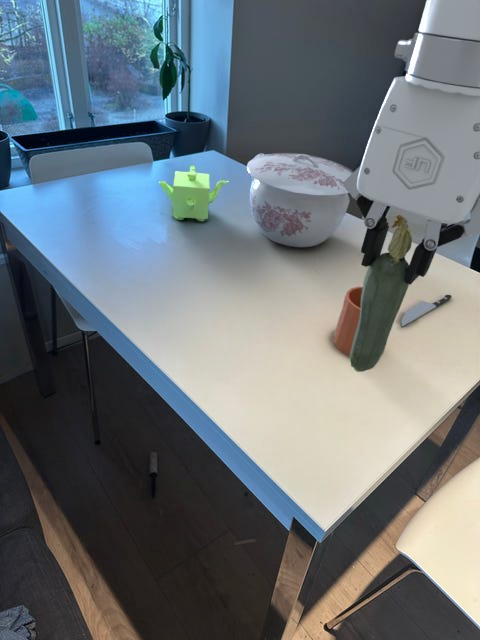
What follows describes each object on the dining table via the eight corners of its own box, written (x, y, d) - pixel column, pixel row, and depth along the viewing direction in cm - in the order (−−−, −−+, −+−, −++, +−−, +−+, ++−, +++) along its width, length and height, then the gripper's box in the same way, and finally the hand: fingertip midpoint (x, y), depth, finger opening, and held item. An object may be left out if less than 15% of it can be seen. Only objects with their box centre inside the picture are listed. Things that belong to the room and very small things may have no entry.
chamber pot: (354, 265, 107) (379, 181, 94) (240, 256, 105) (250, 168, 92) (333, 216, 129) (351, 142, 117) (239, 208, 127) (246, 132, 115)
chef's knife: (389, 320, 90) (401, 327, 88) (390, 316, 90) (403, 323, 88) (439, 293, 101) (452, 299, 99) (441, 288, 100) (453, 294, 98)
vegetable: (377, 387, 53) (437, 232, 41) (340, 385, 52) (390, 228, 40) (369, 362, 56) (421, 213, 44) (335, 359, 56) (378, 209, 44)
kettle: (191, 199, 129) (193, 159, 122) (228, 216, 122) (232, 175, 116) (151, 212, 119) (151, 170, 112) (189, 231, 112) (191, 188, 106)
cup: (384, 343, 84) (401, 300, 78) (365, 365, 78) (382, 320, 72) (345, 324, 88) (359, 281, 82) (325, 343, 82) (337, 299, 76)
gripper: (341, 51, 36) (302, 253, 47) (574, 91, 28) (462, 320, 39) (379, 48, 41) (335, 231, 52) (585, 83, 33) (483, 288, 44)
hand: (391, 268), depth 45 cm, fingers closed on vegetable, 3 cm apart
